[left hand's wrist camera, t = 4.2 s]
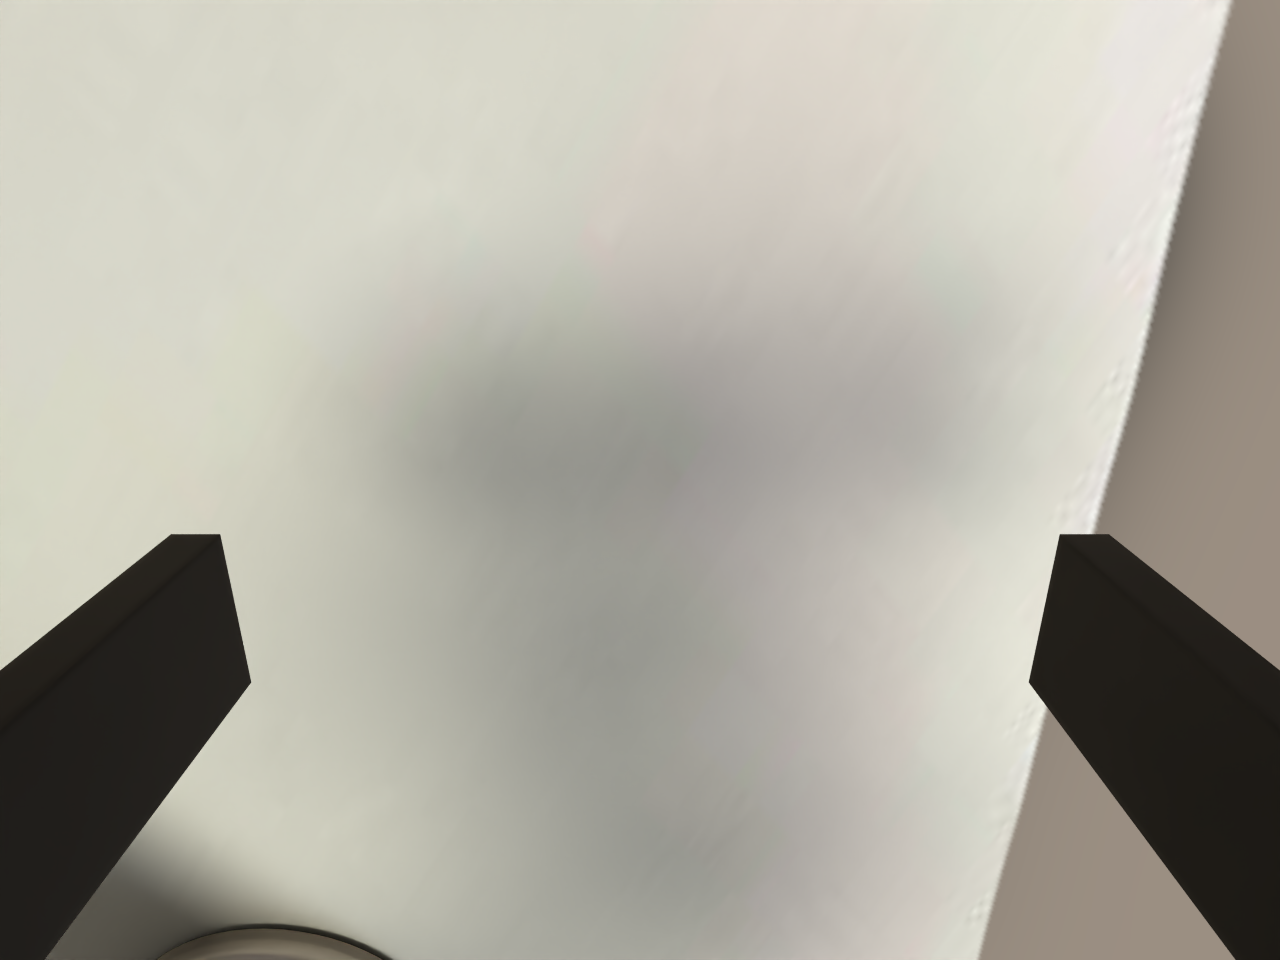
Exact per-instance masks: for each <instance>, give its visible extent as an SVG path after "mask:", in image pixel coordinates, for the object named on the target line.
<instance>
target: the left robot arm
mask: <svg viewBox="0 0 1280 960" xmlns="http://www.w3.org/2000/svg"><path fill="white" fill-rule="evenodd" d="M250 683H251V679H250V674H249V669H248V665H247V660H246V655H245V650H244V646H243V641H242V636H241V631H240V627H239V622H238V617H237V612H236V608H235V603H234V598H233V593H232V589H231V584H230V579H229V574H228V569H227V565H226V560H225V555H224V550H223V546H222V541H221V536H220V534H171V535H170V536H168V537H167V538H166V539H165V540H163V541H162V542H161V543H160V544H158V545H157V546H156V547H155V548H153V549H152V550H151V551H150V552H148V553H147V554H146V555H145V556H143V557H142V558H141V559H140V560H138V561H137V562H136V563H135V564H133V565H132V566H131V567H130V568H128V569H127V570H126V571H125V572H123V573H122V574H121V575H120V576H118V577H117V578H116V579H114V580H113V581H112V582H111V583H109V584H108V585H107V586H106V587H104V588H103V589H102V590H101V591H99V592H98V593H97V594H96V595H94V596H93V597H92V598H91V599H89V600H88V601H87V602H86V603H84V604H83V605H82V606H81V607H79V608H78V609H77V610H76V611H74V612H73V613H72V614H71V615H69V616H68V617H67V618H66V619H64V620H63V621H62V622H61V623H59V624H58V625H57V626H56V627H54V628H53V629H52V630H50V631H49V632H48V633H47V634H45V635H44V636H43V637H42V638H40V639H39V640H38V641H37V642H35V643H34V644H33V645H32V646H30V647H29V648H28V649H27V650H25V651H24V652H23V653H22V654H20V655H19V656H18V657H17V658H15V659H14V660H13V661H12V662H10V663H9V664H8V665H7V666H5V667H4V668H3V669H2V670H0V960H45V958H46V957H47V956H48V954H49V953H50V952H51V950H52V949H53V947H54V946H55V945H56V943H57V942H58V941H59V939H60V938H61V937H62V935H63V934H64V933H65V931H66V930H67V929H68V927H69V926H70V925H71V923H72V922H73V921H74V919H75V918H76V917H77V915H78V914H79V913H80V911H81V910H82V909H83V907H84V906H85V905H86V903H87V902H88V901H89V899H90V898H91V897H92V895H93V894H94V892H95V891H96V890H97V888H98V887H99V886H100V884H101V883H102V882H103V880H104V879H105V878H106V876H107V875H108V874H109V872H110V871H111V870H112V868H113V867H114V866H115V864H116V863H117V862H118V860H119V859H120V858H121V856H122V855H123V854H124V852H125V851H126V850H127V848H128V847H129V846H130V844H131V843H132V842H133V840H134V839H135V837H136V836H137V835H138V833H139V832H140V831H141V829H142V828H143V827H144V825H145V824H146V823H147V821H148V820H149V819H150V817H151V816H152V815H153V813H154V812H155V811H156V809H157V808H158V807H159V805H160V804H161V803H162V801H163V800H164V799H165V797H166V796H167V795H168V793H169V792H170V791H171V789H172V788H173V787H174V785H175V784H176V783H177V781H178V780H179V778H180V777H181V776H182V774H183V773H184V772H185V770H186V769H187V768H188V766H189V765H190V764H191V762H192V761H193V760H194V758H195V757H196V756H197V754H198V753H199V752H200V750H201V749H202V748H203V746H204V745H205V744H206V742H207V741H208V740H209V738H210V737H211V736H212V734H213V733H214V732H215V730H216V729H217V728H218V726H219V725H220V723H221V722H222V721H223V719H224V718H225V717H226V715H227V714H228V713H229V711H230V710H231V709H232V707H233V706H234V705H235V703H236V702H237V701H238V699H239V698H240V697H241V695H242V694H243V693H244V691H245V690H246V689H247V687H248V686H249V685H250ZM1029 683H1030V685H1031V686H1032V687H1033V689H1034V690H1035V691H1036V693H1037V694H1038V695H1039V697H1040V698H1041V699H1042V701H1043V702H1044V703H1045V705H1046V706H1047V707H1048V709H1049V710H1050V711H1051V713H1052V714H1053V715H1054V717H1055V718H1056V719H1057V721H1058V722H1059V723H1060V725H1061V726H1062V727H1063V729H1064V730H1065V732H1066V733H1067V734H1068V735H1069V737H1070V738H1071V740H1072V741H1073V742H1074V744H1075V745H1076V746H1077V748H1078V749H1079V750H1080V751H1081V753H1082V754H1083V756H1084V757H1085V758H1086V760H1087V761H1088V762H1089V764H1090V765H1091V766H1092V768H1093V769H1094V770H1095V772H1096V773H1097V774H1098V776H1099V777H1100V778H1101V780H1102V781H1103V783H1104V784H1105V785H1106V787H1107V788H1108V789H1109V791H1110V792H1111V793H1112V795H1113V796H1114V797H1115V799H1116V800H1117V801H1118V803H1119V804H1120V805H1121V807H1122V808H1123V809H1124V811H1125V812H1126V813H1127V815H1128V816H1129V817H1130V819H1131V820H1132V821H1133V823H1134V824H1135V825H1136V827H1137V828H1138V829H1139V831H1140V832H1141V833H1142V835H1143V836H1144V837H1145V839H1146V840H1147V842H1148V843H1149V844H1150V846H1151V847H1152V848H1153V850H1154V851H1155V852H1156V854H1157V855H1158V856H1159V858H1160V859H1161V860H1162V862H1163V863H1164V864H1165V866H1166V867H1167V868H1168V870H1169V871H1170V872H1171V874H1172V875H1173V876H1174V878H1175V879H1176V880H1177V882H1178V883H1179V884H1180V886H1181V887H1182V888H1183V890H1184V891H1185V892H1186V894H1187V895H1188V897H1189V898H1190V899H1191V901H1192V902H1193V903H1194V905H1195V906H1196V907H1197V909H1198V910H1199V911H1200V912H1201V914H1202V915H1203V917H1204V918H1205V919H1206V921H1207V922H1208V923H1209V925H1210V926H1211V927H1212V929H1213V930H1214V931H1215V933H1216V934H1217V935H1218V937H1219V938H1220V939H1221V941H1222V942H1223V943H1224V945H1225V946H1226V947H1227V949H1228V950H1229V951H1230V953H1231V954H1232V956H1233V957H1234V958H1235V960H1280V670H1278V669H1277V668H1276V667H1275V666H1273V665H1272V664H1271V663H1270V662H1268V661H1267V660H1266V659H1265V658H1263V657H1262V656H1261V655H1260V654H1258V653H1257V652H1256V651H1255V650H1253V649H1252V648H1251V647H1250V646H1248V645H1247V644H1246V643H1245V642H1243V641H1242V640H1241V639H1240V638H1238V637H1237V636H1236V635H1235V634H1233V633H1232V632H1231V631H1229V630H1228V629H1227V628H1226V627H1224V626H1223V625H1222V624H1221V623H1219V622H1218V621H1217V620H1216V619H1214V618H1213V617H1212V616H1211V615H1209V614H1208V613H1207V612H1206V611H1204V610H1203V609H1202V608H1201V607H1199V606H1198V605H1197V604H1196V603H1194V602H1193V601H1192V600H1191V599H1189V598H1188V597H1187V596H1186V595H1184V594H1183V593H1182V592H1181V591H1179V590H1178V589H1177V588H1176V587H1174V586H1173V585H1172V584H1171V583H1169V582H1168V581H1167V580H1166V579H1164V578H1163V577H1162V576H1160V575H1159V574H1158V573H1157V572H1155V571H1154V570H1153V569H1152V568H1150V567H1149V566H1148V565H1147V564H1145V563H1144V562H1143V561H1142V560H1140V559H1139V558H1138V557H1137V556H1135V555H1134V554H1133V553H1132V552H1130V551H1129V550H1128V549H1127V548H1125V547H1124V546H1123V545H1122V544H1120V543H1119V542H1118V541H1117V540H1115V539H1114V538H1113V537H1112V536H1110V535H1109V534H1060V536H1059V541H1058V546H1057V550H1056V555H1055V560H1054V565H1053V569H1052V574H1051V579H1050V584H1049V589H1048V593H1047V598H1046V603H1045V608H1044V612H1043V617H1042V622H1041V627H1040V631H1039V636H1038V641H1037V646H1036V650H1035V655H1034V660H1033V665H1032V669H1031V674H1030V679H1029ZM157 960H382V959H380V958H379V957H377V956H375V955H373V954H371V953H369V952H367V951H365V950H362V949H360V948H357V947H355V946H352V945H350V944H347V943H344V942H341V941H338V940H335V939H332V938H328V937H324V936H320V935H316V934H311V933H305V932H300V931H292V930H283V929H243V930H233V931H227V932H221V933H216V934H212V935H208V936H204V937H200V938H197V939H195V940H192V941H189V942H187V943H184V944H182V945H180V946H178V947H176V948H174V949H172V950H170V951H169V952H167V953H165V954H164V955H162V956H161V957H159V958H158V959H157Z"/></svg>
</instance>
